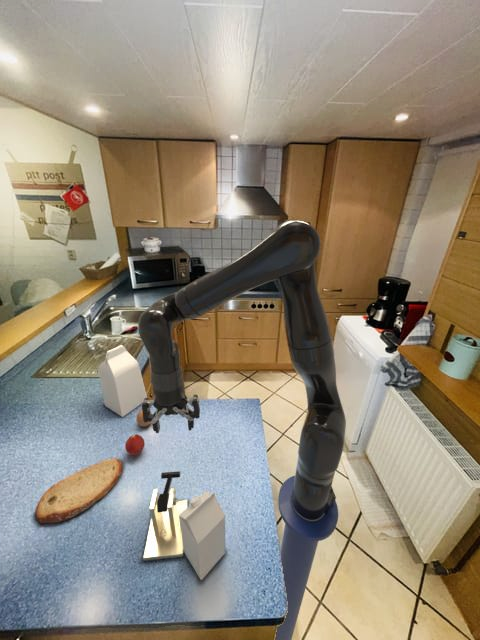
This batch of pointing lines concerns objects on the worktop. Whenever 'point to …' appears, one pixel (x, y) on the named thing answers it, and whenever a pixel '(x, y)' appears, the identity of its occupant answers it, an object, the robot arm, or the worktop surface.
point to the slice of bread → (78, 491)
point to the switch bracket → (165, 529)
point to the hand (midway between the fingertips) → (174, 429)
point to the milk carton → (203, 532)
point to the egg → (141, 419)
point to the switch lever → (166, 491)
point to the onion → (134, 444)
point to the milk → (121, 381)
